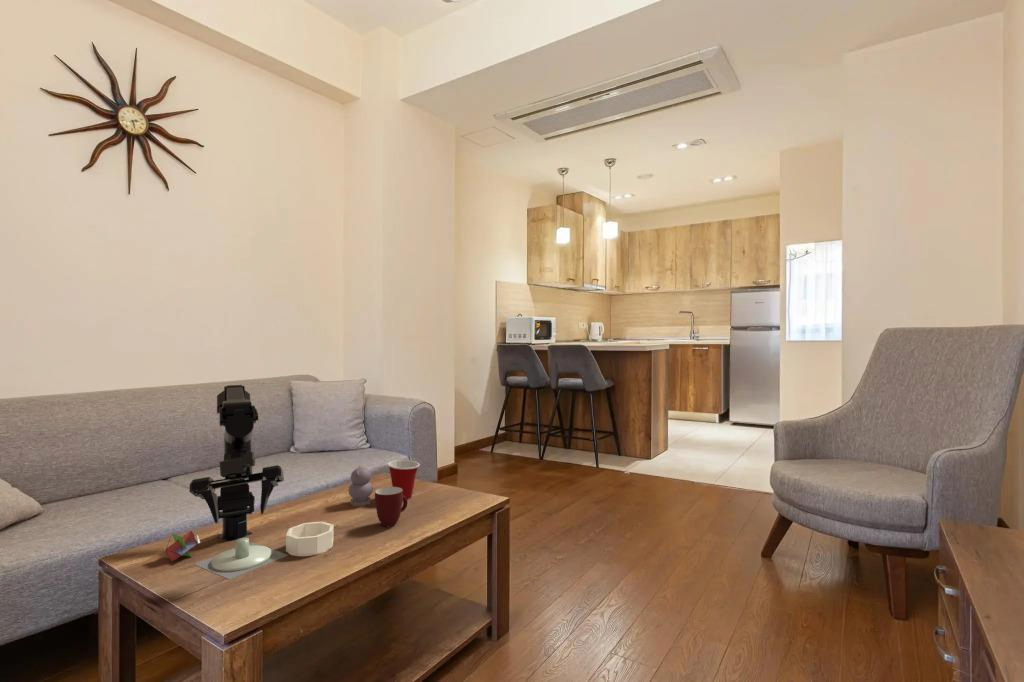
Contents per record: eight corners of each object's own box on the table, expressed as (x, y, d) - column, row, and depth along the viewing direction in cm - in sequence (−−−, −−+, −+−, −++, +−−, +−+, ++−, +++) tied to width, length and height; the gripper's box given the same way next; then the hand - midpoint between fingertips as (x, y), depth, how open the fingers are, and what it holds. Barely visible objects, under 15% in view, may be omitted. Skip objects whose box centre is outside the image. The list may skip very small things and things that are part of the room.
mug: (394, 515, 157) (394, 483, 157) (414, 520, 153) (414, 487, 152) (368, 526, 148) (368, 492, 148) (389, 531, 143) (389, 496, 143)
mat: (193, 566, 122) (193, 564, 122) (253, 544, 135) (253, 542, 135) (229, 581, 114) (229, 579, 114) (288, 557, 127) (288, 555, 127)
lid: (200, 563, 122) (200, 543, 122) (251, 544, 133) (251, 526, 133) (231, 576, 115) (231, 555, 115) (282, 555, 126) (282, 536, 126)
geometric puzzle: (167, 561, 119) (188, 528, 123) (150, 556, 122) (171, 523, 127) (192, 570, 124) (211, 537, 129) (175, 564, 127) (194, 532, 132)
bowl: (278, 551, 130) (278, 532, 130) (314, 537, 139) (314, 519, 139) (305, 561, 124) (305, 541, 124) (341, 545, 134) (341, 527, 134)
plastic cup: (415, 502, 169) (415, 467, 169) (383, 502, 169) (383, 466, 169) (422, 493, 180) (422, 459, 180) (392, 492, 180) (392, 458, 180)
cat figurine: (371, 507, 165) (371, 470, 165) (346, 508, 164) (346, 471, 163) (374, 498, 173) (374, 463, 173) (350, 499, 172) (350, 464, 172)
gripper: (182, 448, 110) (181, 522, 104) (276, 434, 117) (280, 503, 110) (196, 462, 120) (195, 530, 114) (282, 448, 126) (286, 512, 120)
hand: (239, 518), depth 114 cm, fingers open, 9 cm apart
